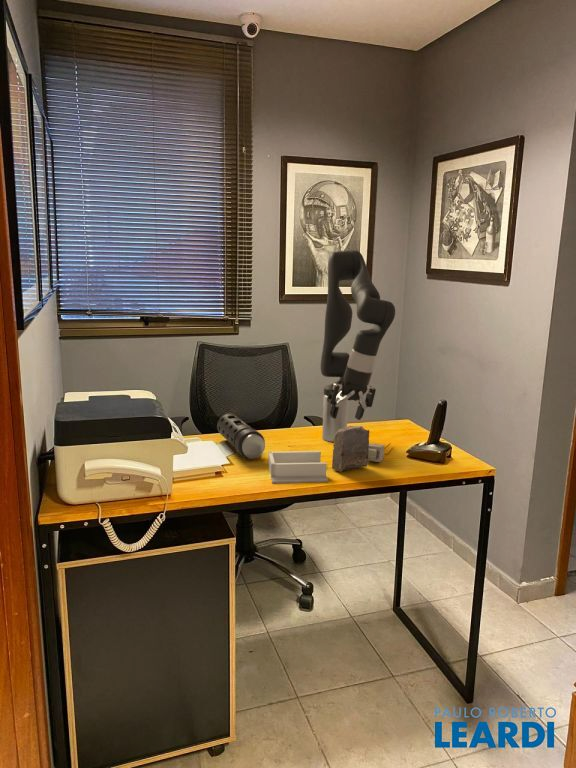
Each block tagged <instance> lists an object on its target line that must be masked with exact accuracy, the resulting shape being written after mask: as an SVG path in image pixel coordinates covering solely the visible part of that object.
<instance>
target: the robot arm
mask: <svg viewBox="0 0 576 768" xmlns="http://www.w3.org/2000/svg"><path fill="white" fill-rule="evenodd" d="M327 263H328V264H327V299H326V300H327V301H326V309H325V315H324V317H325V318H324V332H323V333H324V337H323V343H322V344H323V345H322V352H321V359H320V373H321V375H322V376H323V377H325V378H326V377H327V378H339V379H337V381H335V382H332V383H330V384H328V385H325V386H324V388H323V400H322V401H323V403H322V404H323V406H322V407H323V408H322V409H323V411H322V432H321V433H322V434H321V436H322V437H321V439H322V440H323V441H327V442H332V443H334V441H333V439H334V437H335V435H336V433H337V432H338V431H339V430H340V429H341V428H344V427H348V413H349V412H348V410H349V401H354V402H358V403H357V404H358V405H357V408H356V411H355V415H354V418H355V419H356V420H357V421H361V419H362V418H364V417H363V416H364V413H365V409H366V408H372V407H373V403H374V400H375V396H376V391H377V390H376V388H374V387H373V386H372V385H370V381H371V379H372V375H373V372H374V367H375V365H376V360H377V354H378V352H379V348H380V344H381V342H382V340H383V339H384V337H385V334H386V333H387V331H388V329H389V328H390V327H391V325H392V323H393V321H394V320H395V315H396V308H395V305H394V303H393V302H391V301H389V300H386V299H385V300H384V299H381V295H380V293H379V290H378V289H377V287H376V286H375V285H374V283H373V282H372V280H371V277H370V272H369V270H368V267H367V263H366V261H365V259H364V256H363V254H362V253H361V252H360V251H358V250H339V251H334V252H333V251H332V252H331V253H330V255H329V258H328V262H327ZM351 280H353V281H352V284H351V286H350V292H351V293H350V294H351V296H352V298H353V299H354V302H355V303H356V316H357V318H358V320H360V321H361V322H362V323H365V324H370V325H371V324H372V325H373V327H372V328H370V329H363V330H359V331H357V333H356V335H355V338H354V339H355V340H354V343H353V346H352V350H351V352H350V354H349V353H348V352H342V351H341V352H337V351H335V352H334V350H335V348H336V347H337V345H338V344H339V343H340V342H342V340H343V339H344V338H345V337H346V336H347V335H348V333H349V332H350V330H351V328H352V321H353V308H352V307H351V304H350V303H349V301H348V300H347V299H346V297H345V295H344V294H343V292H342V290H341V289H340V281H351ZM365 394H366V395H365ZM364 395H365V397H364Z"/></svg>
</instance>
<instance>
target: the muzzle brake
mask: <svg viewBox="0 0 576 768" xmlns="http://www.w3.org/2000/svg"><path fill="white" fill-rule="evenodd" d="M216 429H217V431H218V433H219V434H220V435H221V436H222V437H223V438H224V439H225V440H226V441H227V442H228V443H230V444H231V446H233V447H234V449H236V451H237V452H238V453H239V455H241V456H242V457H244V458H246V459H252V460H253V459H257V458H259V457H261V456H262V455H263V453H264V451H265V449H266V440H265V438H264V436H263V435H262V434H261V432H259V431H258V430H256V429H254V428H252V427H251V426H250V425H248V424H247V423H246V422H245V421H243V420H242V419H241V418H240V417H238V416H237V415H236V414H234V413H225V414H223V415H222V416H221V417H220V418H219V419H218V421H217V425H216Z"/></svg>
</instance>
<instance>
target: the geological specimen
mask: <svg viewBox="0 0 576 768" xmlns="http://www.w3.org/2000/svg"><path fill="white" fill-rule="evenodd" d="M333 441H334V442H333V444H332V445H333V449H332V461H331V462H332V463H331V469H332V470H334V471H336V472H340V473H341V472H343V471H344V470H345V471H346V470H347V471H348V470H352V469H357V468H362V467H365V468H367V467H368V465H369V463H368V462H369V461H368V449H369V444H370V429H365V428H364V426H362V425H359V426H358V425H347V427H344V428H341V429H340V430H339V431H338V432H337V433H336V435H335V437H334V439H333Z"/></svg>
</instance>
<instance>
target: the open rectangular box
mask: <svg viewBox="0 0 576 768" xmlns="http://www.w3.org/2000/svg"><path fill="white" fill-rule="evenodd" d="M321 453H322V452H321V450H307V451H306V450H302V451H301V450H298V451H297V450H296V451H286V450H284V451H268V453H267V454H268V458H267V459H268V461H267V462H268V465H267V466H268V470H269V474H270V475H271V476H270V481H271V480H272V481H271V483H272V484H303V483H304V484H305V483H306V482H307V484H308V483H309V482H311V483H329V479H328V476H327V464H328V463H327V462H326V461H325V462H322V461H321V459H322V458H321V457H322V456H321V455H322V454H321ZM299 482H301V483H299ZM302 482H303V483H302Z"/></svg>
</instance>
